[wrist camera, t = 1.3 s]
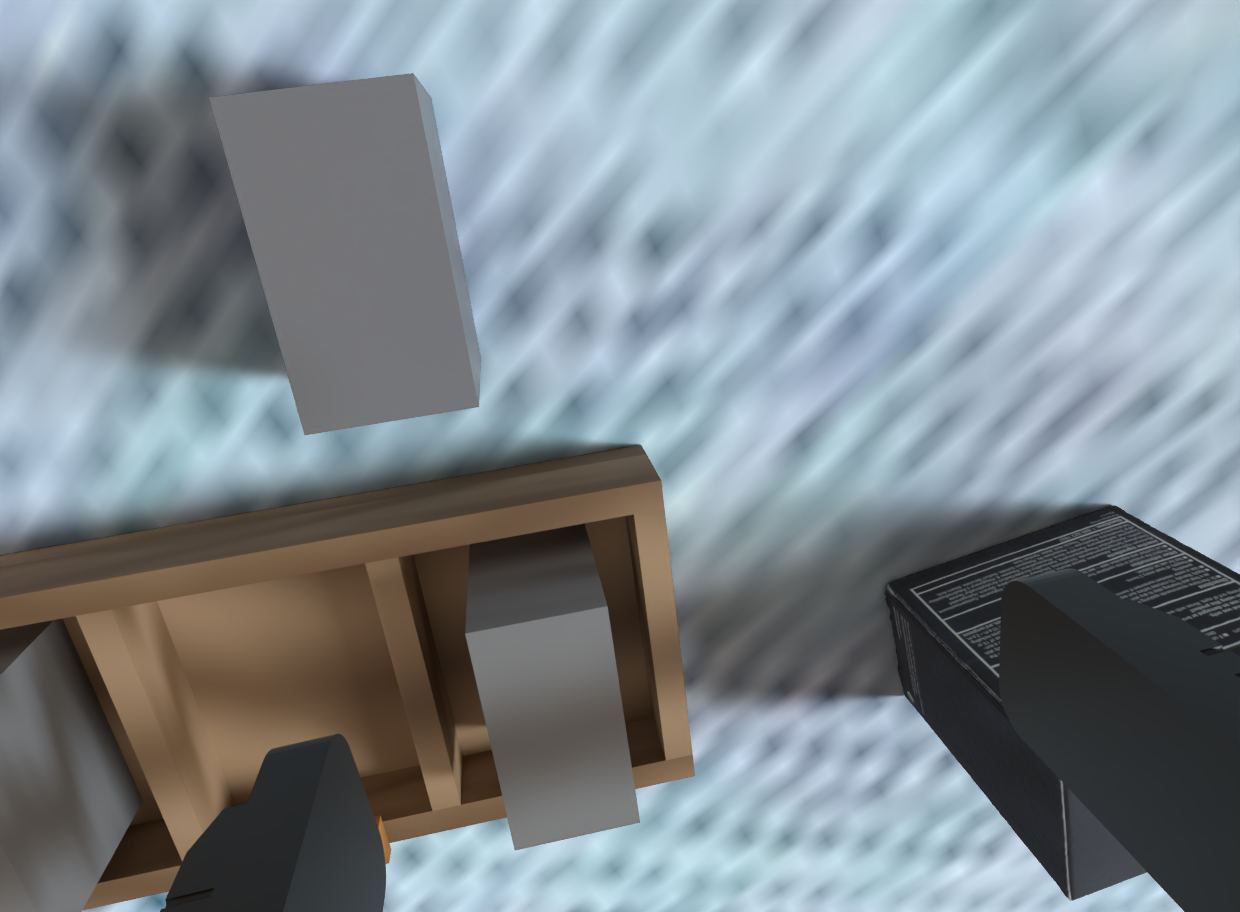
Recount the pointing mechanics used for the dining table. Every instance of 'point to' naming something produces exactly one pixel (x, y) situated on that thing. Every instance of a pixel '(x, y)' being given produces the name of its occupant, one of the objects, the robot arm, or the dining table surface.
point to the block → (355, 248)
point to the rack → (341, 670)
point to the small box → (970, 654)
